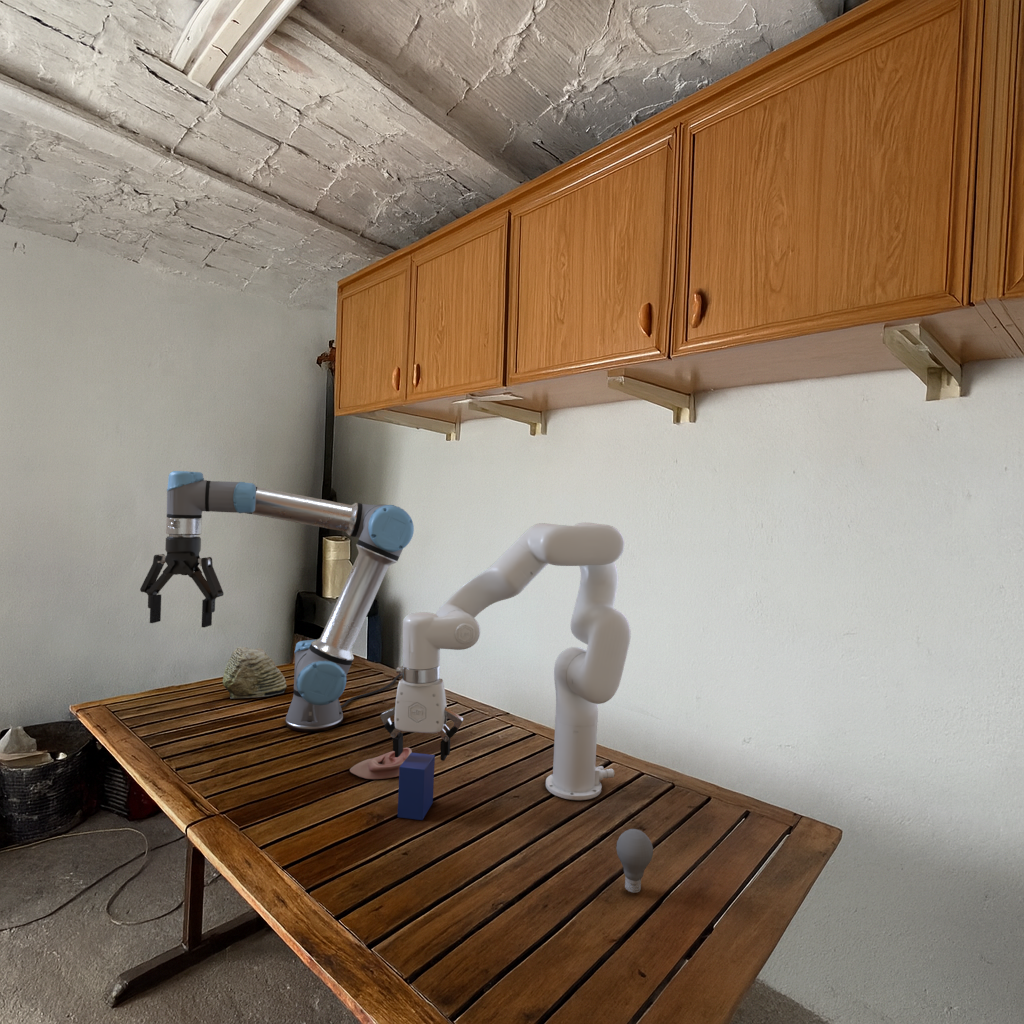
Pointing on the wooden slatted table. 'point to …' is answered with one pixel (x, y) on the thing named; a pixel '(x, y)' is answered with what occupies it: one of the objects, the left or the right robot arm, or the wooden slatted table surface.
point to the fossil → (252, 674)
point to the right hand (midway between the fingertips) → (421, 756)
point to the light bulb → (634, 857)
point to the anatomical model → (381, 766)
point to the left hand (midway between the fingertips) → (180, 624)
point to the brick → (416, 786)
